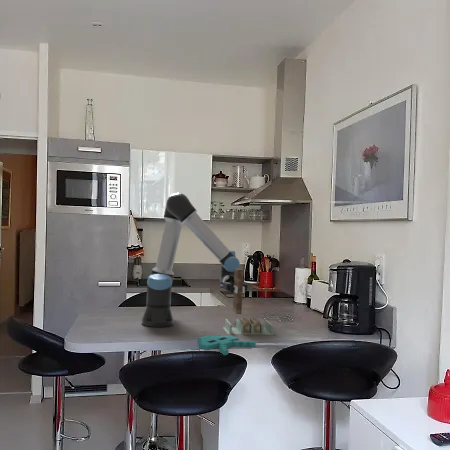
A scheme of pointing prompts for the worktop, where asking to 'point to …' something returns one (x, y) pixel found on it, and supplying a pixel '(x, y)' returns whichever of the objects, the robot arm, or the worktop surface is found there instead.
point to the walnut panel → (238, 296)
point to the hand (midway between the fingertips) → (240, 290)
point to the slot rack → (264, 329)
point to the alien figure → (222, 343)
